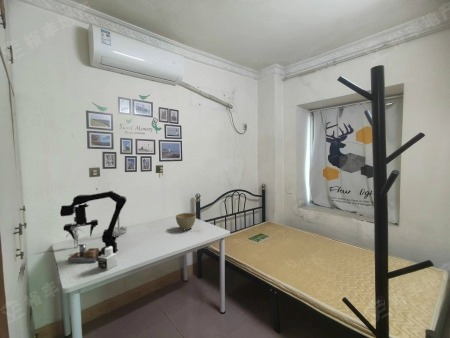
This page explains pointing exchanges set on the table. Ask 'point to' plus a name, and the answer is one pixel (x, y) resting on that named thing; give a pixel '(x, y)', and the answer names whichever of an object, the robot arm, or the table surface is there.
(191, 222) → the flower pot
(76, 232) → the human figurine
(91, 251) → the brown block
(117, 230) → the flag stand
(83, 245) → the bay
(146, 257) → the table surface
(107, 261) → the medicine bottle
